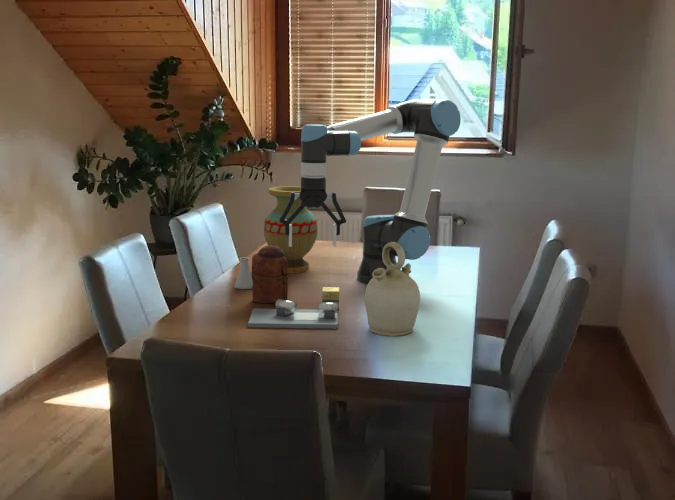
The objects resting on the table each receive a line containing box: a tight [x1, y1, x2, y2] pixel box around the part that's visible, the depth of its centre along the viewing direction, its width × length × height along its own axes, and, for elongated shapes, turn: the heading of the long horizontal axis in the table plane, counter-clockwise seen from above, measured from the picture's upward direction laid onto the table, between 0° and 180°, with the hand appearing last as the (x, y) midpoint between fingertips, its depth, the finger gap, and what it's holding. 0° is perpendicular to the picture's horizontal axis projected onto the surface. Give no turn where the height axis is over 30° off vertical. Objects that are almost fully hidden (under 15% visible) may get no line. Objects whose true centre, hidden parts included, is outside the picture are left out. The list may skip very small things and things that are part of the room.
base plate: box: [247, 308, 339, 330], centre depth 209 cm, size 25×14×1 cm, turn 91°
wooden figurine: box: [251, 244, 289, 305], centre depth 226 cm, size 12×6×18 cm, turn 84°
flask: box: [233, 256, 253, 290], centre depth 243 cm, size 7×7×10 cm
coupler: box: [321, 286, 340, 312], centre depth 221 cm, size 5×5×6 cm
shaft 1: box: [274, 299, 298, 317], centre depth 210 cm, size 6×4×4 cm
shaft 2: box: [317, 302, 339, 319], centre depth 208 cm, size 6×4×4 cm
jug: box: [364, 242, 421, 337], centre depth 200 cm, size 15×16×25 cm
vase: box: [263, 185, 319, 274], centre depth 267 cm, size 20×20×30 cm
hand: (312, 245), depth 222 cm, fingers open, 13 cm apart
